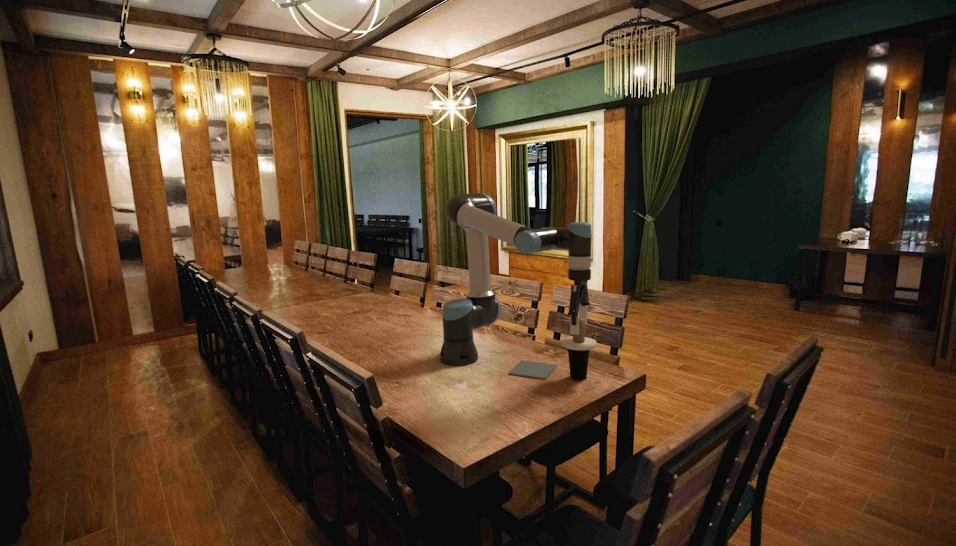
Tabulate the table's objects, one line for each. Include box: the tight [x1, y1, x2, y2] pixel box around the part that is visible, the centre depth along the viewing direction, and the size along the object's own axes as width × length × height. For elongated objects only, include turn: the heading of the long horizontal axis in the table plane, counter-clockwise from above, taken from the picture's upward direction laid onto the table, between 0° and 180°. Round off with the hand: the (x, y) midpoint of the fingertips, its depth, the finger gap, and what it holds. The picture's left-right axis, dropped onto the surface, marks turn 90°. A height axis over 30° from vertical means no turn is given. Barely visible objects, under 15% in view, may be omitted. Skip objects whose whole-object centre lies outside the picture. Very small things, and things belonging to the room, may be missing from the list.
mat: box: [507, 359, 558, 380], centre depth 177 cm, size 14×14×1 cm
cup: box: [567, 349, 591, 382], centre depth 168 cm, size 8×8×12 cm
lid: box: [560, 318, 598, 350], centre depth 166 cm, size 12×12×9 cm
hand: (578, 328), depth 166 cm, fingers open, 13 cm apart
